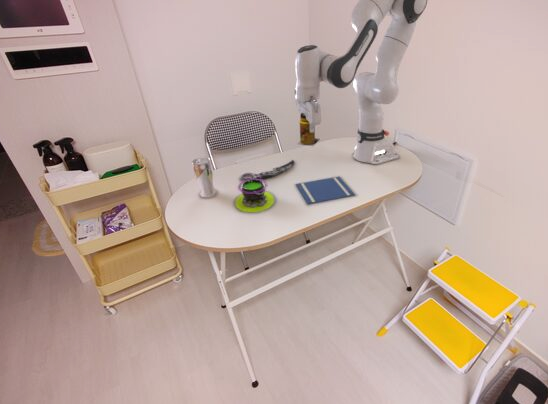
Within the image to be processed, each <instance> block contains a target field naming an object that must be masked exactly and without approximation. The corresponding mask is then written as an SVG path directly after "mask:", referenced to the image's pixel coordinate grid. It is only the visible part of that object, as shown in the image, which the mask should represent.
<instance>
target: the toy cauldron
mask: <svg viewBox="0 0 548 404" xmlns="http://www.w3.org/2000/svg"><path fill="white" fill-rule="evenodd" d="M252 174H253V175H254V173H252ZM252 174H251V175H252ZM244 177H245V178H247V177H250V175H247V176H244ZM259 177H260V176H259ZM256 178H257V177H256ZM243 179H244V178H243ZM267 188H268V181H266V180H264V179H250V180H242V179H241V182H240V183H239V184H238V186H237V189H238V191H239V192H241V195H239V196H238V197H237V198H236V199H235V207H236V208H237V209H238V210H240V211H241V212H245V213H259V212H263V211H265V210H268V209H269V208H271V207H272V206H273V205H274V202H275V199H274V196H273V194H272V193H270V192H268V191H266V190H267Z"/></svg>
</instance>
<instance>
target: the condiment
mask: <svg viewBox="0 0 548 404" xmlns="http://www.w3.org/2000/svg"><path fill="white" fill-rule="evenodd" d="M299 117H300V119H299V138H300V139H299V141H298V142H297V143H296V144H297V145H300V146H307V147H314V146H316V144H318V142H319V141H320V140H321V138H317V137H316V129H315V128H316V126H315V127H314V132H312V133H311V132H310V131H309V127H310V124H309V121H307V120H306V116H305V115H304V114H303V113H301V114H300V116H299Z"/></svg>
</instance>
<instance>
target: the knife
mask: <svg viewBox="0 0 548 404" xmlns="http://www.w3.org/2000/svg"><path fill="white" fill-rule="evenodd" d="M294 165H295V160H293V159H291V160H290V161H289V162H287V163H286V164H283V165H281V166H277V167H273V170H268V171H262V172H259V173H255V174H254V173H252V172H246V173H243V174H241V175H240V179H241V181H242V180H243V181H245V180H248V181H249V180H250V179H255V180H256V179H257V180H258V179H260V180H262V179H267V178H270V177H275V176H276V175H278V174H281V173H284V172H285V171H286V170H287V169H289V168H293V166H294ZM251 174H252V175H251ZM253 174H254V175H253ZM247 176H249V177H247ZM259 176H260V177H259ZM245 177H246V178H245ZM256 177H257V178H256ZM243 178H244V179H243Z"/></svg>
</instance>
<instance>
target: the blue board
mask: <svg viewBox="0 0 548 404" xmlns="http://www.w3.org/2000/svg"><path fill="white" fill-rule="evenodd" d="M295 185H296V187H297V189H298V190H299V192H300V194H301V195H302V197H303V198H304V200H305V202H306V204H307V205H311V204H316V203H317V204H318V203H321V202H327V201H333V200H337V199H343V198H348V197H352V196H353V197H354V196H356V193H354V192H353V190H352V189H351V188H350V187H349V186H348V185H347V184H346V182H345V181H344V180H343V179H342V178H341V177H340V176H335V177H330V178H323V179H318V180H313V181H306V182H301V183H296V184H295Z"/></svg>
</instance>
